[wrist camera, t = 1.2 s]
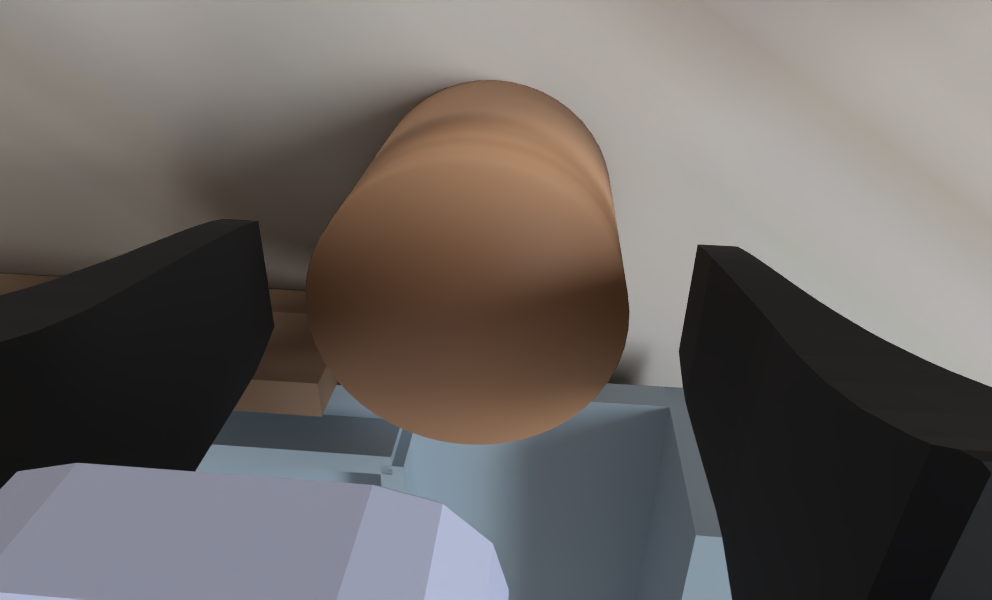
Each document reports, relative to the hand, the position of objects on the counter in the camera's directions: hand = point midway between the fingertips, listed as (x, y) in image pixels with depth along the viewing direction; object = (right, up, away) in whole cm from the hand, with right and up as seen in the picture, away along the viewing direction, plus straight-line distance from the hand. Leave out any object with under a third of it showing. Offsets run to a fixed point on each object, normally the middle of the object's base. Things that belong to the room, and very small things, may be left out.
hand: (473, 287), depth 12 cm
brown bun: (0, +2, +4) cm, 4 cm away
